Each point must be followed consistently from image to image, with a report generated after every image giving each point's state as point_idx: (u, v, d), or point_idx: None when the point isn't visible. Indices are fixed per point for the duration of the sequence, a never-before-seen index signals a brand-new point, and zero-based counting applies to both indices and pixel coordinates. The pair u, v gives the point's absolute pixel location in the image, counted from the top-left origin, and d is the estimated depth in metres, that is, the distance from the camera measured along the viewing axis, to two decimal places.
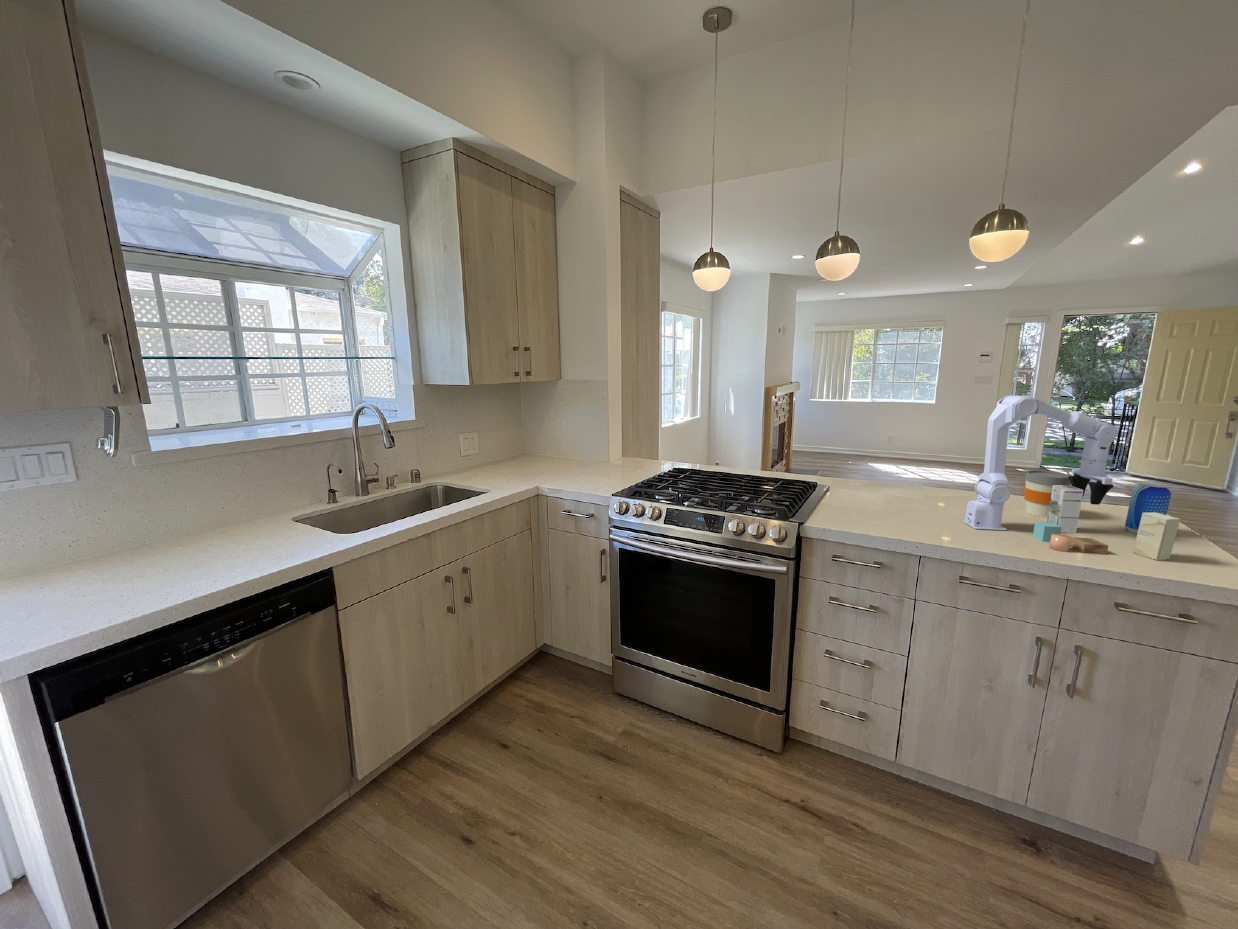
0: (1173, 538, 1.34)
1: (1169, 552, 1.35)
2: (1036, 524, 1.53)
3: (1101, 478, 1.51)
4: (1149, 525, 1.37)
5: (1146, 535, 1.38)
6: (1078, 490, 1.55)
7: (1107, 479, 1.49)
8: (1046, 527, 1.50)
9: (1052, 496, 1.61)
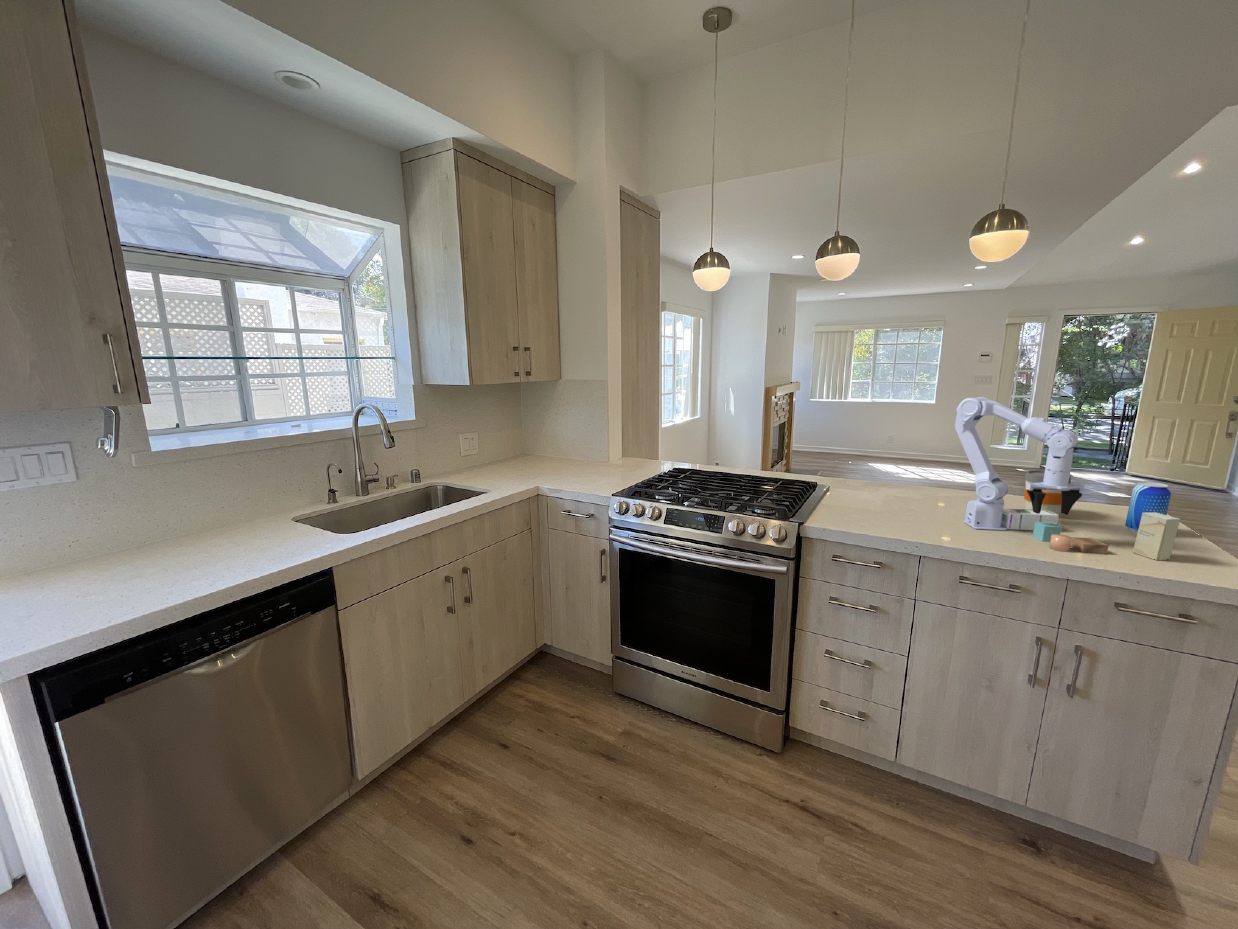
0: (1173, 538, 1.34)
1: (1169, 552, 1.35)
2: (1036, 524, 1.53)
3: None
4: (1149, 525, 1.37)
5: (1146, 535, 1.38)
6: (1009, 517, 1.61)
7: (1027, 484, 1.51)
8: (1046, 527, 1.50)
9: None
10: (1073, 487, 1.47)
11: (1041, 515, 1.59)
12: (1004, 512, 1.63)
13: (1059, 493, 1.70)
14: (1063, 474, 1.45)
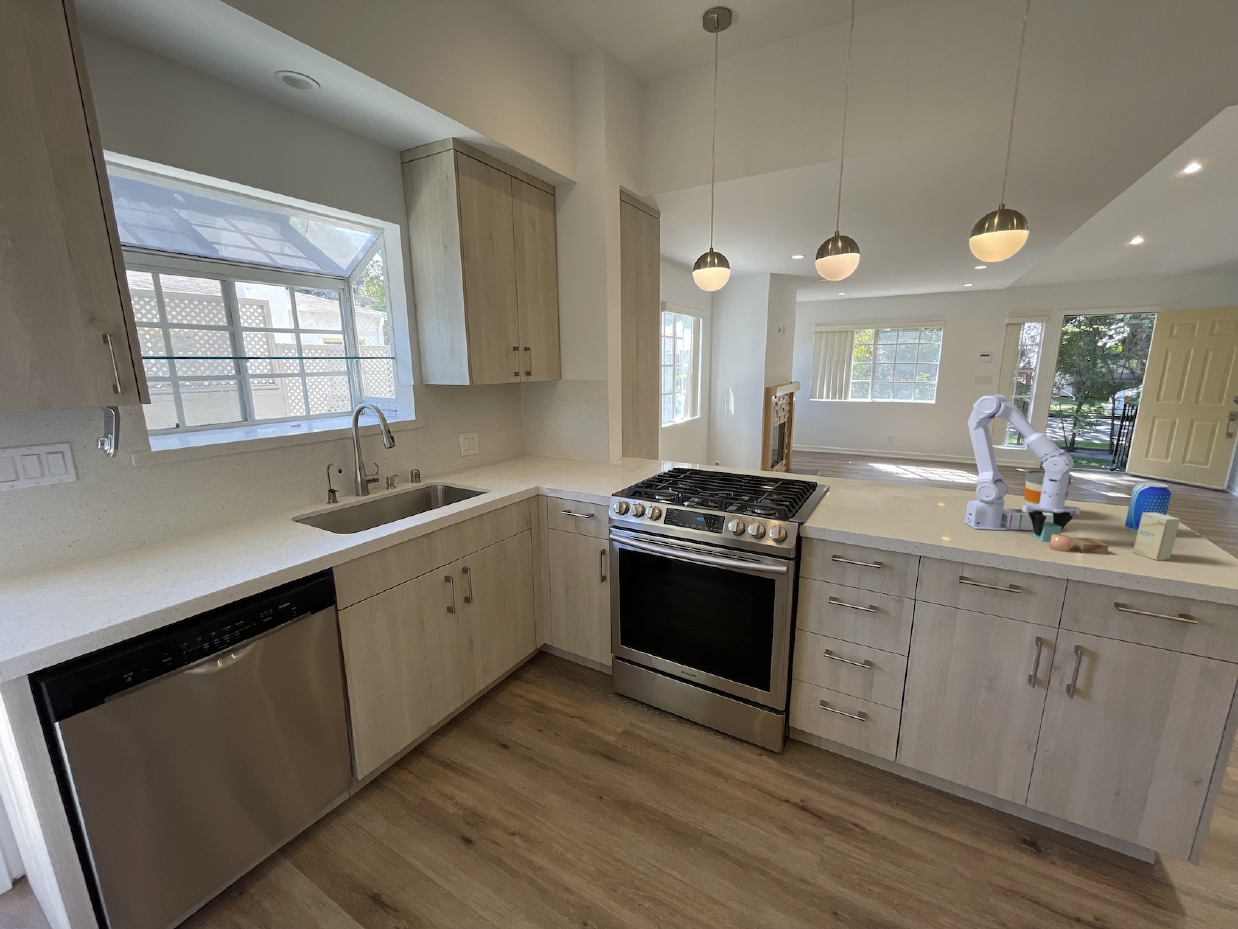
0: (1173, 538, 1.34)
1: (1169, 552, 1.35)
2: None
3: None
4: (1149, 525, 1.37)
5: (1146, 535, 1.38)
6: (1009, 517, 1.61)
7: (1023, 506, 1.52)
8: (1046, 527, 1.50)
9: None
10: (1069, 510, 1.48)
11: None
12: (1004, 512, 1.63)
13: None
14: (1059, 497, 1.47)
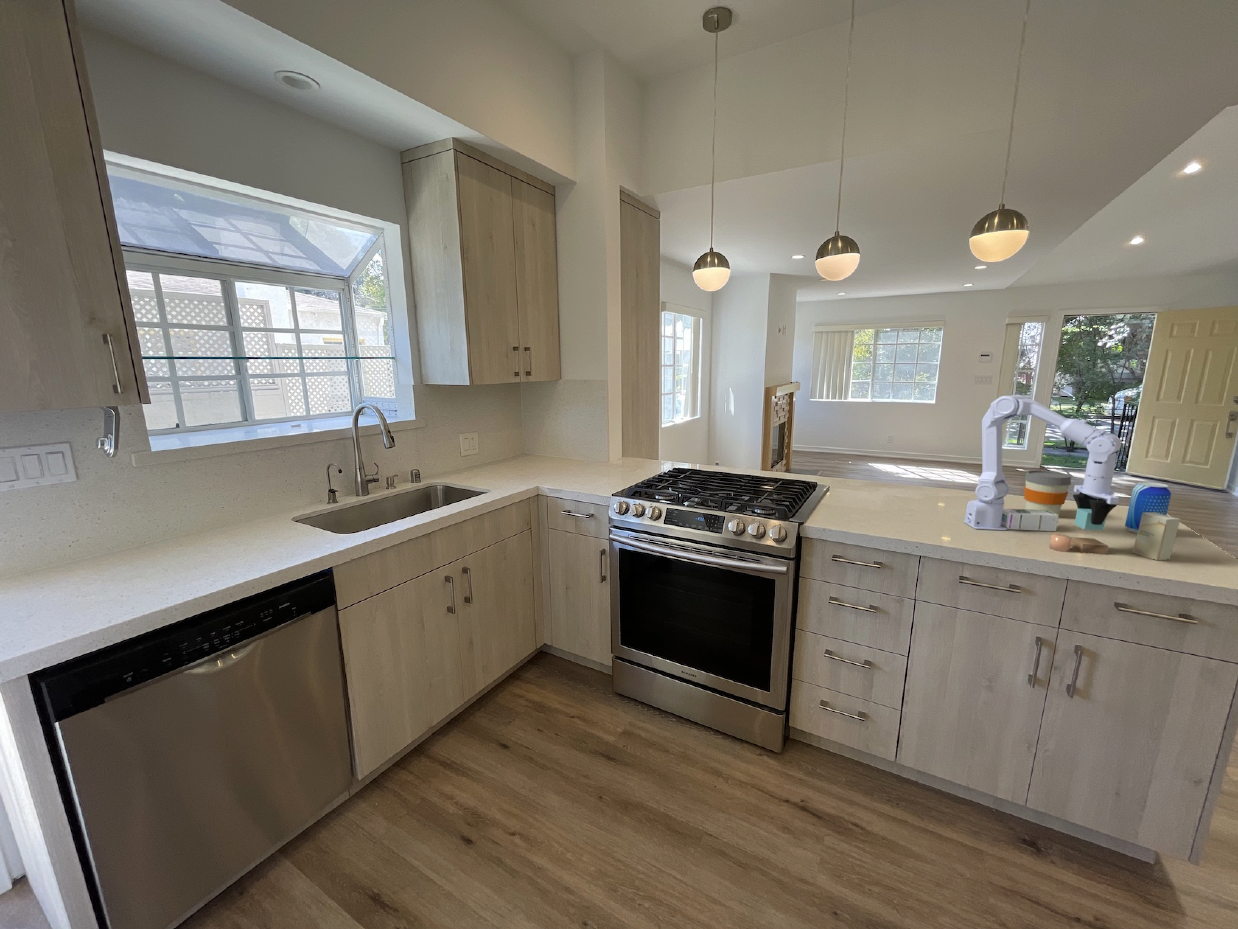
0: (1173, 538, 1.34)
1: (1169, 552, 1.35)
2: (1090, 515, 1.40)
3: (1106, 497, 1.35)
4: (1149, 525, 1.37)
5: (1146, 535, 1.38)
6: (1009, 517, 1.61)
7: (1112, 498, 1.34)
8: None
9: None
10: None
11: (1041, 515, 1.59)
12: (1004, 512, 1.63)
13: (1059, 493, 1.70)
14: None
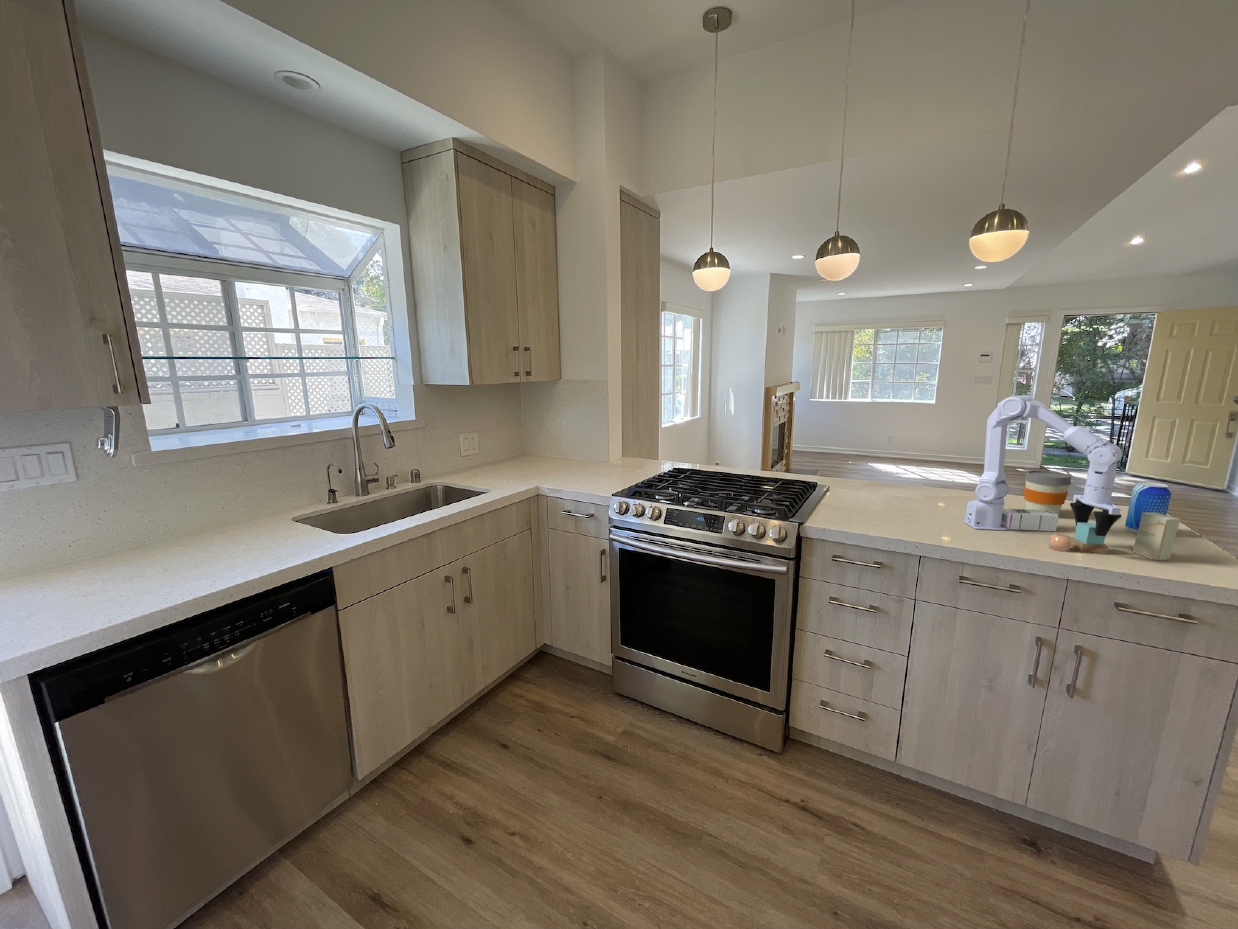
0: (1173, 538, 1.34)
1: (1169, 552, 1.35)
2: (1091, 529, 1.40)
3: (1108, 507, 1.35)
4: (1149, 525, 1.37)
5: (1146, 535, 1.38)
6: (1009, 517, 1.61)
7: (1114, 509, 1.34)
8: None
9: None
10: None
11: (1041, 515, 1.59)
12: (1004, 512, 1.63)
13: (1059, 493, 1.70)
14: None
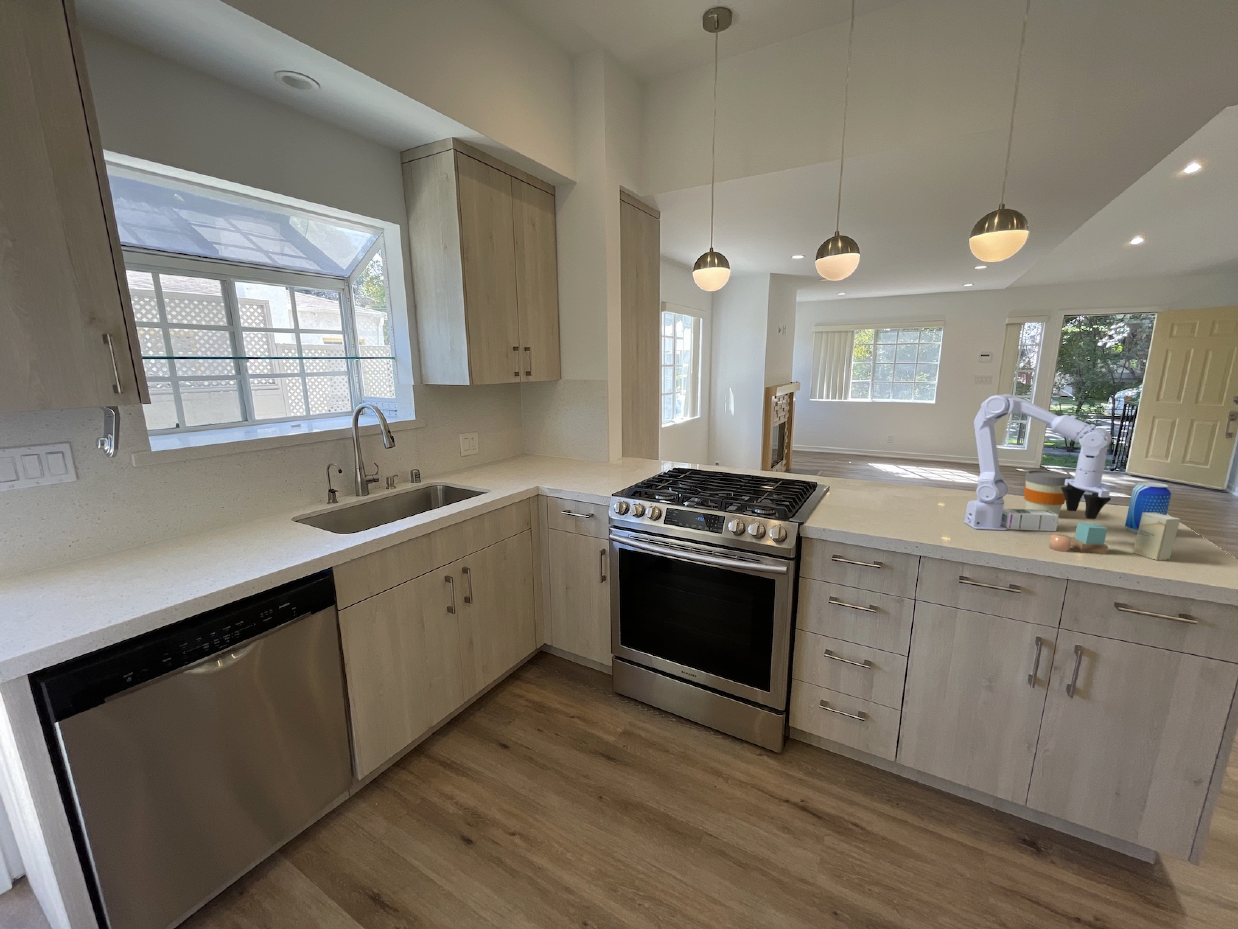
0: (1173, 538, 1.34)
1: (1169, 552, 1.35)
2: (1091, 529, 1.40)
3: (1097, 490, 1.38)
4: (1149, 525, 1.37)
5: (1146, 535, 1.38)
6: (1009, 517, 1.61)
7: (1103, 491, 1.36)
8: None
9: None
10: None
11: (1041, 515, 1.59)
12: (1004, 512, 1.63)
13: (1059, 493, 1.70)
14: None
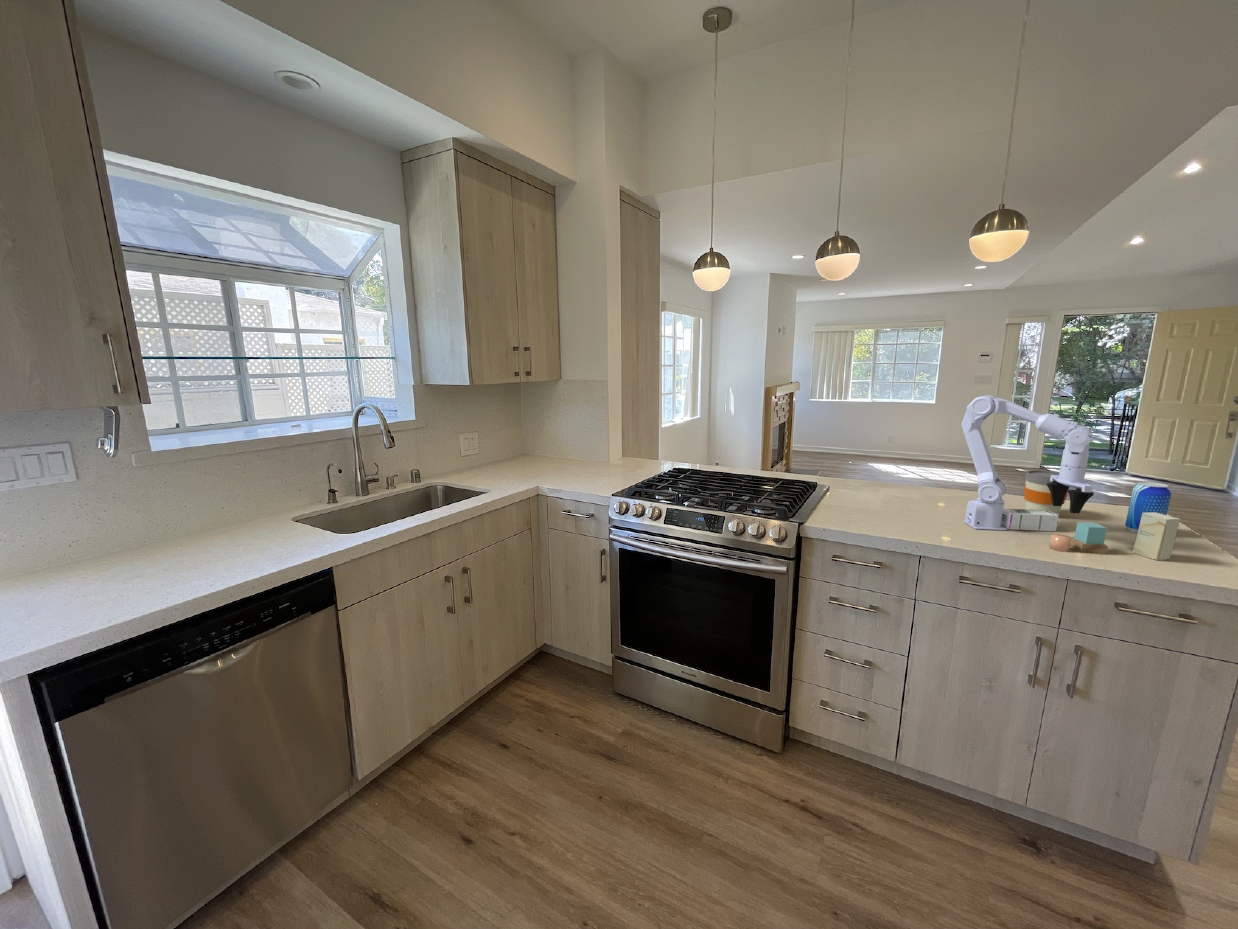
0: (1173, 538, 1.34)
1: (1169, 552, 1.35)
2: (1091, 529, 1.40)
3: (1081, 486, 1.42)
4: (1149, 525, 1.37)
5: (1146, 535, 1.38)
6: (1009, 517, 1.61)
7: (1086, 487, 1.41)
8: None
9: None
10: None
11: (1041, 515, 1.59)
12: (1004, 512, 1.63)
13: None
14: None
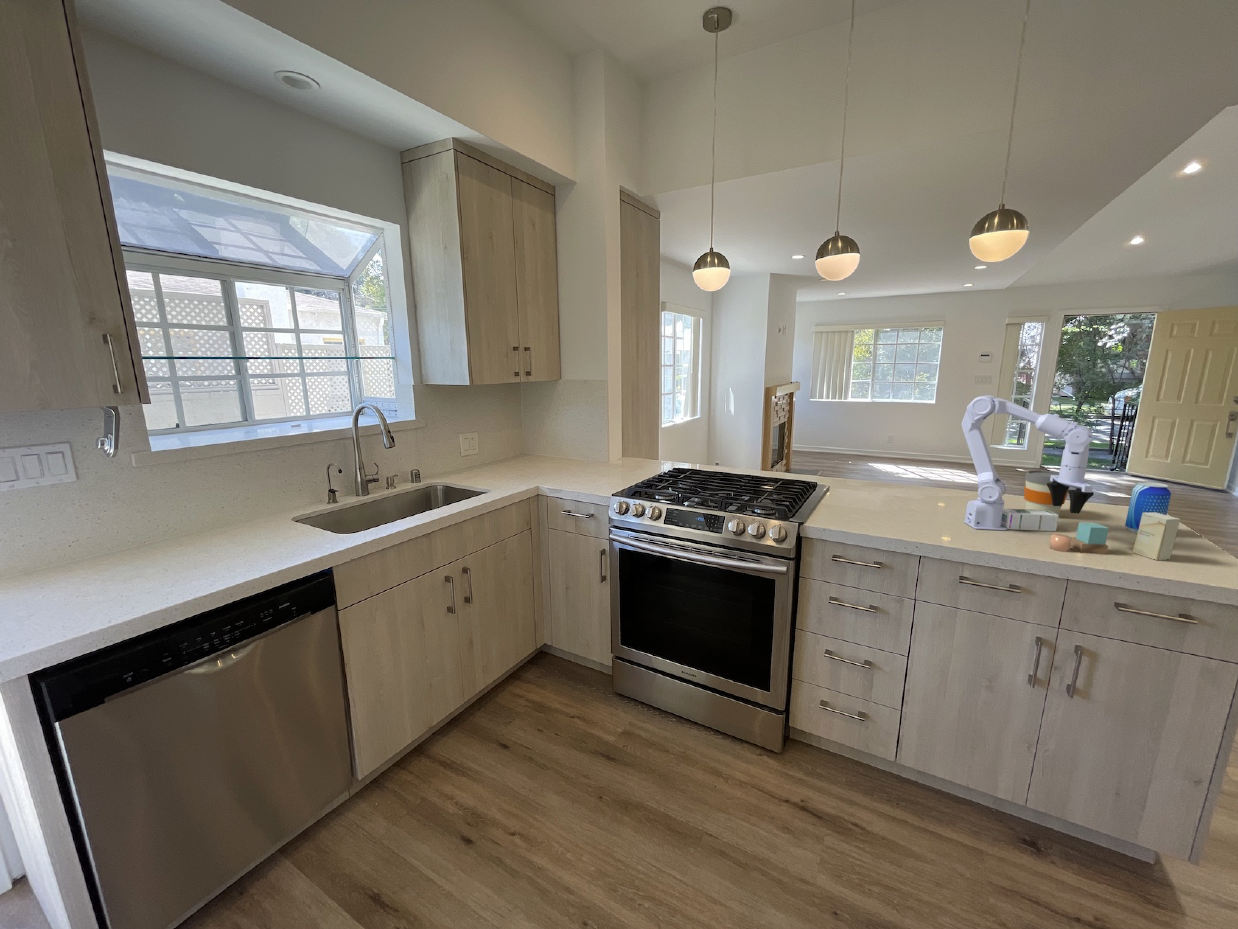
0: (1173, 538, 1.34)
1: (1169, 552, 1.35)
2: (1093, 529, 1.40)
3: (1081, 486, 1.42)
4: (1149, 525, 1.37)
5: (1146, 535, 1.38)
6: (1009, 517, 1.61)
7: (1086, 487, 1.41)
8: None
9: None
10: None
11: (1041, 515, 1.59)
12: (1004, 512, 1.63)
13: None
14: None
